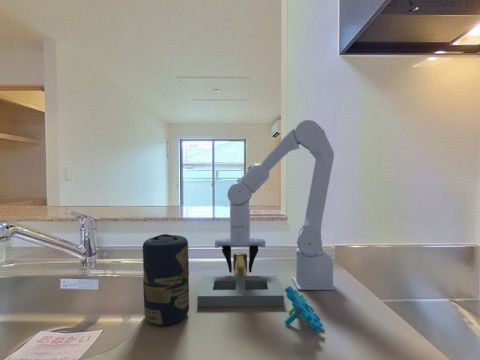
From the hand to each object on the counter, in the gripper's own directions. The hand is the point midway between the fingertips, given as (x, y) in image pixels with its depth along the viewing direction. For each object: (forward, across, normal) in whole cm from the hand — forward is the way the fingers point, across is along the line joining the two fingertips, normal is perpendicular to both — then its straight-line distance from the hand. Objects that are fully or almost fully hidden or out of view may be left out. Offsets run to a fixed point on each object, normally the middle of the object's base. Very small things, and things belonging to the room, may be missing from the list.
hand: (240, 271), depth 82 cm
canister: (+2, +16, +21) cm, 26 cm away
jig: (+2, 0, +11) cm, 11 cm away
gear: (+2, -13, +24) cm, 28 cm away
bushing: (+2, 0, 0) cm, 2 cm away
